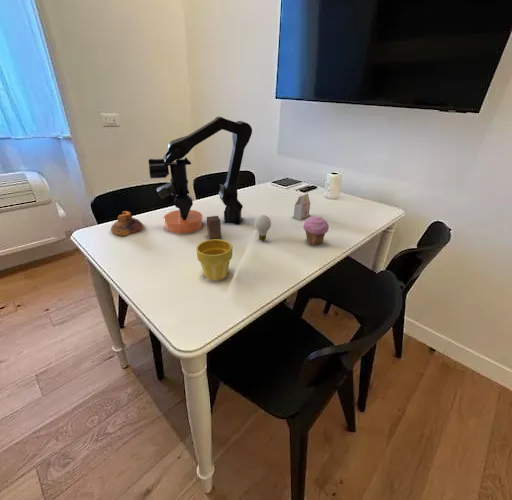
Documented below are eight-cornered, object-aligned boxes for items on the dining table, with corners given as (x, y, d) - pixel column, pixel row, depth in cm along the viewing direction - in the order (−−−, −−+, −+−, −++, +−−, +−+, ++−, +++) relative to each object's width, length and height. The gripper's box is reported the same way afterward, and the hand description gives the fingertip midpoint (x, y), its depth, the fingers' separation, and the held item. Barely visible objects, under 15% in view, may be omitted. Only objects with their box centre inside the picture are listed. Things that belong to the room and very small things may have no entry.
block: (218, 234, 116) (217, 215, 112) (221, 239, 113) (220, 219, 109) (207, 236, 115) (206, 216, 111) (210, 241, 111) (208, 221, 108)
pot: (206, 221, 127) (206, 212, 125) (194, 236, 115) (193, 226, 113) (175, 218, 129) (174, 209, 127) (159, 232, 117) (158, 222, 115)
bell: (130, 238, 112) (126, 220, 108) (104, 233, 115) (100, 215, 112) (150, 226, 121) (147, 209, 118) (126, 222, 125) (122, 205, 121)
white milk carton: (293, 217, 133) (295, 195, 128) (301, 213, 137) (304, 192, 133) (300, 220, 131) (302, 198, 126) (308, 215, 135) (311, 194, 131)
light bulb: (272, 238, 114) (273, 214, 110) (267, 245, 110) (268, 219, 105) (257, 236, 116) (258, 211, 111) (252, 242, 111) (252, 217, 106)
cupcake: (311, 249, 107) (314, 224, 102) (297, 239, 114) (299, 215, 109) (330, 244, 111) (334, 219, 106) (316, 235, 118) (319, 211, 113)
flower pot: (199, 266, 96) (197, 238, 91) (232, 265, 97) (232, 238, 92) (197, 285, 87) (194, 255, 82) (233, 284, 88) (232, 255, 83)
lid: (207, 213, 126) (206, 201, 123) (194, 228, 113) (193, 214, 110) (173, 210, 128) (172, 198, 125) (157, 224, 115) (155, 210, 112)
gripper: (155, 171, 118) (160, 209, 125) (158, 185, 102) (163, 227, 110) (184, 170, 121) (187, 206, 128) (191, 183, 106) (194, 223, 113)
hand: (183, 215), depth 120 cm, fingers open, 9 cm apart
